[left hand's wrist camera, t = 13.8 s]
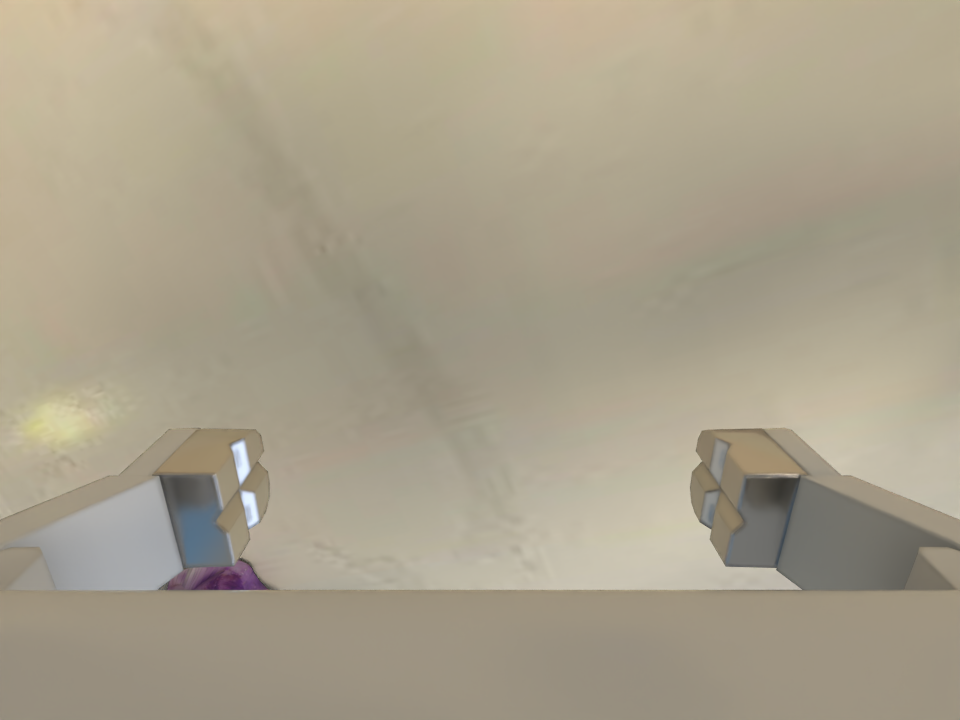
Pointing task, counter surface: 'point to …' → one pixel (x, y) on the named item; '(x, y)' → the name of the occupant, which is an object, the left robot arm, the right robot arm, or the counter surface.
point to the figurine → (217, 578)
